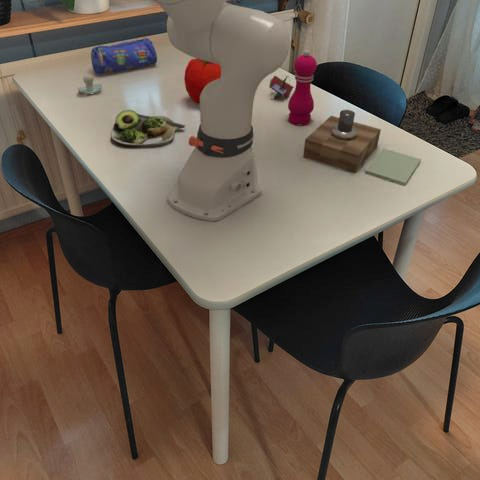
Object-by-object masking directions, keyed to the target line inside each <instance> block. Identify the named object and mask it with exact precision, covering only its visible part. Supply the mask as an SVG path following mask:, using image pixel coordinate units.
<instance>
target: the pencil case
mask: <svg viewBox="0 0 480 480" xmlns="http://www.w3.org/2000/svg"><path fill="white" fill-rule="evenodd" d="M90 56H91V57H90V59H91V66H92V69H93V71H94V73H95V74H96V75H105V74H110V73H114V72H122V71H126V70H132V69H136V68H140V67H141V68H142V67H146V66H154V65H156V64H157V62H158V55H157V51H156V49H155V47H154V44H153V42H152V41H151V40H150V39H149V38H148V37H146V36H145V37H142V38H136V39H135V40H134V39H133V40H131V41H123V42H120V43H117V44H111V45H98V46H94V47H93V48H92V49H91V53H90Z"/></svg>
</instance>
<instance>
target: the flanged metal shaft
mask: <svg viewBox="0 0 480 480" xmlns="http://www.w3.org/2000/svg"><path fill="white" fill-rule="evenodd" d="M355 116H356V112H354V110H350V109H342V110H341V111H340V113H339V117H338V118H339V123H338V124H335V125H334V126H333V127H332V131H331V133H332V135H333V136H334V137H336V138H339V139H343V140H348V141H350V140H351V139H354V138H355V137H356V136H357V132H358V130H357V128H356V127H354V126H353V122H355Z"/></svg>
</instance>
